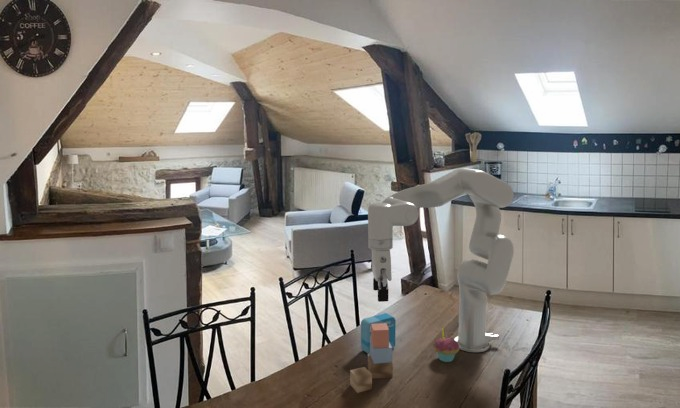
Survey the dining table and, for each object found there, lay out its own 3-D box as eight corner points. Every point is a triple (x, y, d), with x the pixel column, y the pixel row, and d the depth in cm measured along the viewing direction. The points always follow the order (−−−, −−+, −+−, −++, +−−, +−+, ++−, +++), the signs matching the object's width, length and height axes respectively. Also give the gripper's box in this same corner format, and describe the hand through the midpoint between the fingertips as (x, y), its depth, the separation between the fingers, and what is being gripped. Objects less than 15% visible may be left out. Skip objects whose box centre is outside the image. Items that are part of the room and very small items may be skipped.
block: (364, 381, 156) (364, 366, 155) (372, 389, 152) (371, 374, 151) (350, 385, 154) (350, 370, 153) (357, 393, 150) (357, 377, 149)
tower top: (387, 353, 164) (387, 339, 163) (392, 362, 158) (392, 347, 157) (369, 354, 163) (369, 340, 162) (373, 363, 157) (373, 349, 156)
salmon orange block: (386, 340, 162) (386, 323, 161) (388, 347, 157) (389, 329, 156) (371, 341, 162) (371, 323, 161) (373, 348, 157) (373, 330, 156)
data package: (367, 356, 172) (367, 323, 170) (360, 351, 176) (360, 319, 174) (395, 347, 178) (395, 316, 176) (388, 342, 182) (388, 312, 180)
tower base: (388, 366, 165) (388, 352, 164) (392, 377, 158) (392, 363, 158) (367, 367, 165) (367, 353, 164) (370, 378, 158) (370, 364, 157)
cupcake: (444, 367, 164) (445, 333, 162) (428, 356, 172) (428, 323, 170) (464, 360, 168) (465, 327, 166) (447, 350, 176) (448, 318, 174)
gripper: (397, 250, 146) (397, 305, 149) (387, 235, 163) (387, 285, 166) (372, 251, 145) (372, 306, 148) (364, 236, 162) (365, 286, 165)
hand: (380, 295), depth 157 cm, fingers open, 9 cm apart
